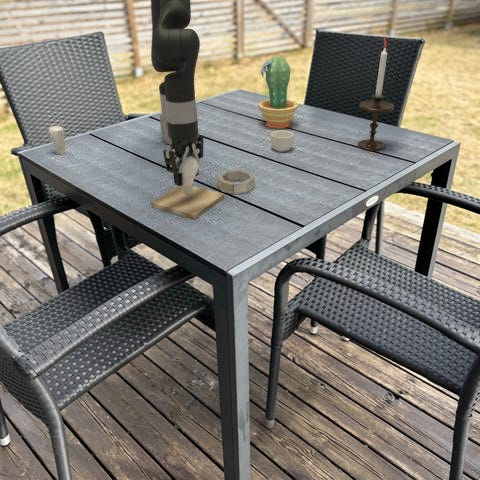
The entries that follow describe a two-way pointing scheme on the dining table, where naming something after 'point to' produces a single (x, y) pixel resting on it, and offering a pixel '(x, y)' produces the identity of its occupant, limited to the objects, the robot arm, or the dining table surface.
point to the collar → (237, 186)
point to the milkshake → (58, 139)
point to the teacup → (282, 140)
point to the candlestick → (376, 108)
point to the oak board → (188, 201)
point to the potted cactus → (277, 94)
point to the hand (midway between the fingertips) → (186, 180)
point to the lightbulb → (188, 174)
